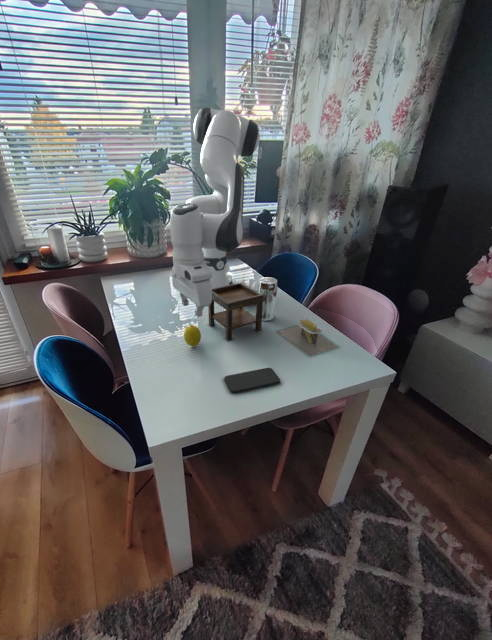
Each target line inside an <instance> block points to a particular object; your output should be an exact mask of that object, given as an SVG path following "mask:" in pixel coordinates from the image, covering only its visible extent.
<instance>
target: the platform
mask: <svg viewBox="0 0 492 640" xmlns="http://www.w3.org/2000/svg"><path fill="white" fill-rule="evenodd" d="M297 325H298V326H294V327H290V328H287V329H283V330H279V331H277V333H278V334H280V335H281V336H282V337H284V339H286V340H287V341H289V342H290V343H291V344H293V345H294V346H295V347H296V348H298V349H300V350H301V352H304V353H305V354H306V355H308V356H309V357H311V356H315V355H317V354H320V353H324V352H327V351H330V350H333V349H336V348H338V346H337V345H336V344H334V343H332V342H331V341H330V340H328V339H326V338H325V337H323V336H322V335H321V334H323V329H320V328H318V325H317V324H316V323H314V322H312V321H311V320H309V319H308V318H305V319H300V320H299V322H298V324H297Z"/></svg>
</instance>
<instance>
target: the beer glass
mask: <svg viewBox="0 0 492 640" xmlns="http://www.w3.org/2000/svg"><path fill="white" fill-rule="evenodd" d="M258 284H259V288H258V292H259V293H261V294H263V309H262V321H265V322H269V321H272V320H273V319H274V307H275V303H276V300H277V295H278V279H276V278H274V277H269V276H268V277H267V276H265V277H261V278H260V279H259V280H258Z"/></svg>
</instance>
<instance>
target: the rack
mask: <svg viewBox="0 0 492 640" xmlns="http://www.w3.org/2000/svg"><path fill="white" fill-rule="evenodd" d="M215 303H216V304H218V305H219V306H220V307H221V308H223V309H224V310H223V311H219V312H215ZM254 305H255V306H256V307H255V315H253V314H252V313H250V312H249V311H247V310H246V309H244V308H247V307H250V306H254ZM207 307H208V325H209V326H210V327H214V326H215V323H216V322H217V323H218V324H220V325H221V327H223V328H224V329H225V340H227V342H229V341H233V330H236V329H239V328H240V329H241V328H243V327H247V326H251V325H253V324H255V325H254V331H255V332H257V333H258V332H261V331H262V322H263V320H262V309H263V294H261V293H259V292H257V291H255V290H254V289H252V288H251V287H250V286H248V285H247V284H243V283H239V282H237V283H233V284H229V285H227V286H223V287H218V288H214V289H212V302H211V304H210V306H207ZM215 321H216V322H215Z"/></svg>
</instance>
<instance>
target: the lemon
mask: <svg viewBox="0 0 492 640" xmlns="http://www.w3.org/2000/svg"><path fill="white" fill-rule="evenodd" d="M183 337H184V338H183V339H184V342H185V343H186V344H187V345H188V346H190V347H192V348H194V347H195V346H197V345H199V344H200V342H201V339H202V333H201V331H200V329H199V327H198V326H196V325H194V324H191V325H188V326H187V327H186V328H185V329H184V332H183Z"/></svg>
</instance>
